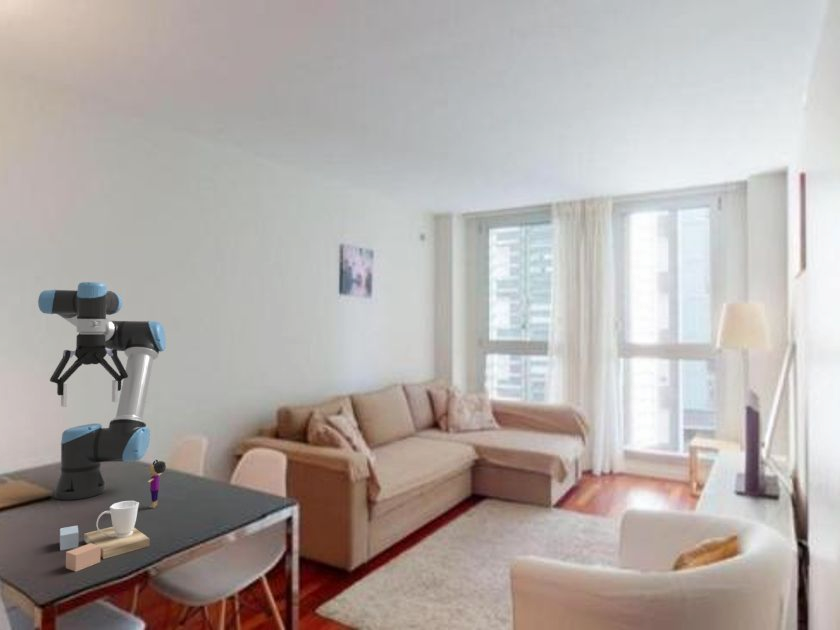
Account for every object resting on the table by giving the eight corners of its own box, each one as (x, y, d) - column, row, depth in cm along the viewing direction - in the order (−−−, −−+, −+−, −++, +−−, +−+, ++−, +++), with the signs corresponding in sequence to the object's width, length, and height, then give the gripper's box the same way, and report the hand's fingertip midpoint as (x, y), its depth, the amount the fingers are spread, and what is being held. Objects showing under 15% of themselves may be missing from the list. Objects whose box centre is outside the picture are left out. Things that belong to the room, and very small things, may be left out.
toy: (155, 501, 179) (156, 456, 179) (172, 501, 180) (173, 456, 180) (141, 512, 169) (142, 464, 169) (159, 512, 169) (160, 464, 170)
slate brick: (59, 543, 146) (60, 528, 146) (77, 540, 148) (77, 525, 148) (60, 551, 141) (60, 535, 141) (78, 547, 143) (78, 532, 143)
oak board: (84, 540, 147) (84, 533, 147) (127, 529, 155) (128, 522, 155) (103, 558, 136) (103, 550, 136) (149, 546, 144) (149, 538, 144)
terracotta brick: (75, 572, 129) (75, 555, 129) (65, 568, 131) (66, 552, 131) (100, 562, 134) (100, 546, 134) (90, 559, 136) (90, 543, 136)
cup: (140, 536, 145) (140, 506, 146) (96, 544, 140) (97, 512, 140) (137, 527, 151) (137, 498, 151) (95, 535, 146) (95, 505, 146)
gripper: (45, 334, 152) (43, 409, 151) (139, 333, 170) (138, 401, 170) (38, 333, 157) (37, 406, 156) (131, 333, 175) (129, 398, 175)
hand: (89, 404), depth 163 cm, fingers open, 13 cm apart
